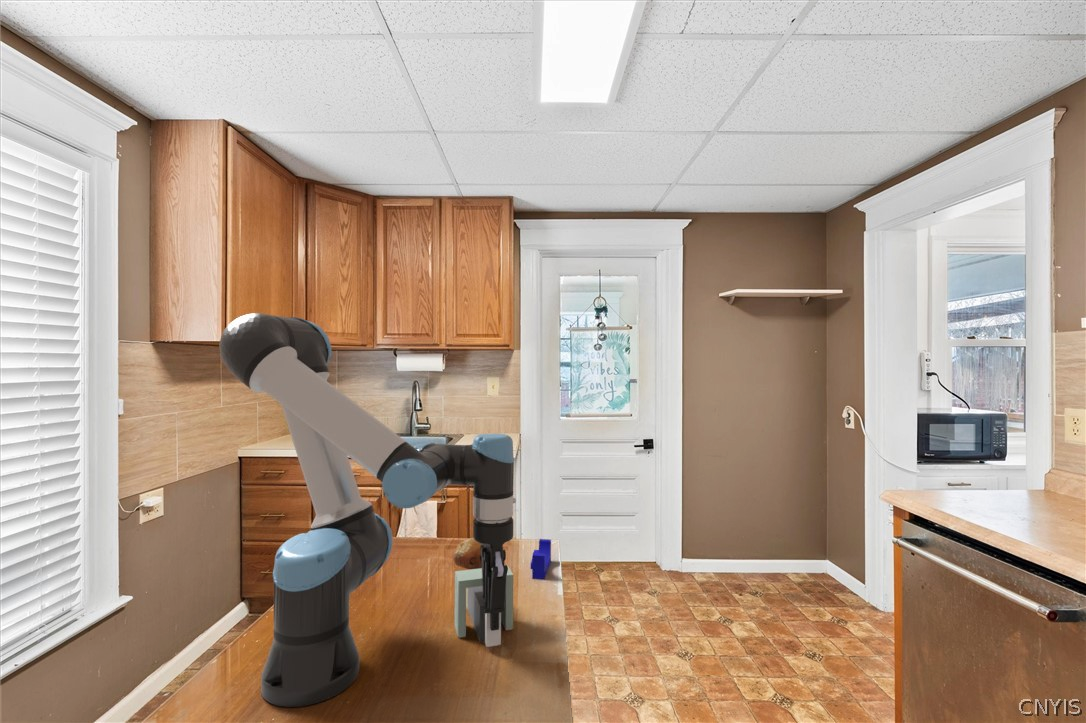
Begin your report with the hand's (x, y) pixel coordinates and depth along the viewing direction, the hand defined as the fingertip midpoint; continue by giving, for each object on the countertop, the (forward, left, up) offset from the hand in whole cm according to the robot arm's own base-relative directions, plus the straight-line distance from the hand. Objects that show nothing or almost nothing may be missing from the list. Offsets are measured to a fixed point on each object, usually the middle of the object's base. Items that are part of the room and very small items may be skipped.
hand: (492, 643), depth 97 cm
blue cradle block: (+19, +33, -1) cm, 38 cm away
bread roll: (+4, +43, -1) cm, 43 cm away
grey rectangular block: (0, +11, -1) cm, 11 cm away
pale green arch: (0, +8, -1) cm, 8 cm away
